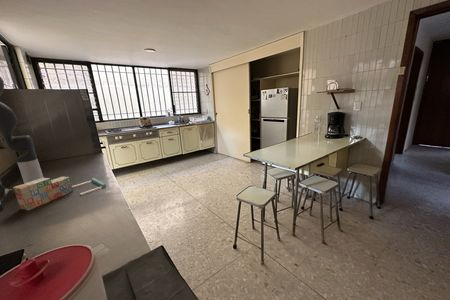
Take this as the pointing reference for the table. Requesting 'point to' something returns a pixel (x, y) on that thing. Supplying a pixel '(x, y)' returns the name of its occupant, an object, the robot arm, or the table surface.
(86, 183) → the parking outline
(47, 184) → the stack of blocks
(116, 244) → the table surface
